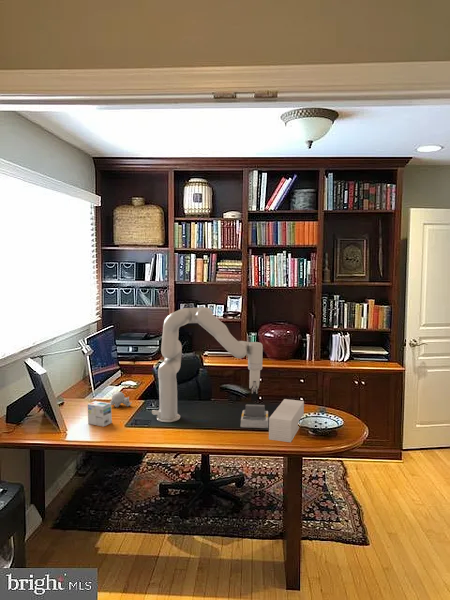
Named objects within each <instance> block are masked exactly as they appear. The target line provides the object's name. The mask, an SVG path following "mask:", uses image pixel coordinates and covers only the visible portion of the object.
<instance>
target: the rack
mask: <svg viewBox="0 0 450 600" xmlns="http://www.w3.org/2000/svg"><path fill="white" fill-rule="evenodd" d="M245 414H246V409H243V410H242V412H241V417H240V428H252V429H253V428H255V429H269V411H268V410H265V417H258V416H245Z"/></svg>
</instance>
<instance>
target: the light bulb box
mask: <svg viewBox="0 0 450 600" xmlns="http://www.w3.org/2000/svg"><path fill="white" fill-rule="evenodd" d="M112 415H113V412H112V405H111V403H110V402H106V401H98V400H94V401H92V402H89V403H87V423H88V425H93V426H94V425H95V426H98V427H103V428H104V427H106V426H108V425H110V424H112V423H113V419H112V417H113V416H112Z"/></svg>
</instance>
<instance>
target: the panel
mask: <svg viewBox="0 0 450 600" xmlns="http://www.w3.org/2000/svg"><path fill="white" fill-rule="evenodd" d="M265 407H266V405H265V404H248V403H247V404H245V410H246V414H245V416H258V417H265V411H266V409H265Z"/></svg>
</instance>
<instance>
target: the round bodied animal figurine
mask: <svg viewBox="0 0 450 600" xmlns="http://www.w3.org/2000/svg"><path fill="white" fill-rule="evenodd" d="M109 403H111V406H114V407H115V408H119V407H120V406H121V404H123V405H124V406H126V407H128V408H129V407H130V406H131V405H132V401H130V396H127V397H125V394H124V393H123V392H122V391H115V392H113V394H112V396H111V400H110V401H109Z"/></svg>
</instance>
